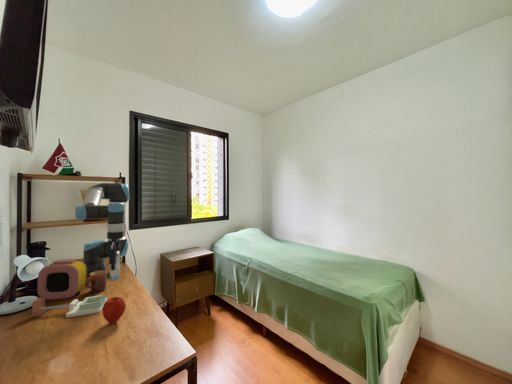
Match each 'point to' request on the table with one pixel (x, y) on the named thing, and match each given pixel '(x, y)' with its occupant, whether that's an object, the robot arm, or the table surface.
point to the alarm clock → (62, 279)
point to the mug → (97, 281)
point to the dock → (86, 306)
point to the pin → (43, 307)
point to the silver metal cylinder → (115, 278)
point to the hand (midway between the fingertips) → (114, 273)
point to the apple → (114, 309)
